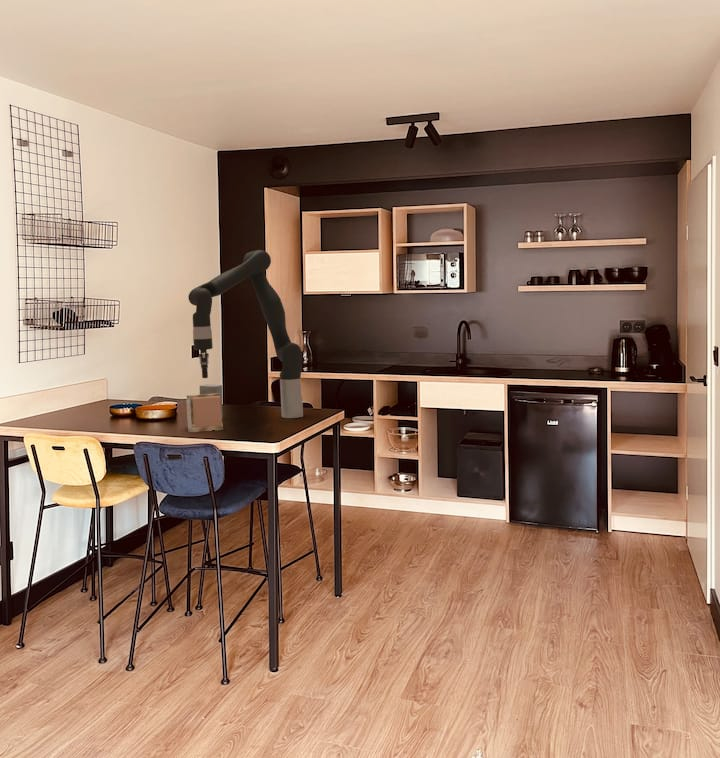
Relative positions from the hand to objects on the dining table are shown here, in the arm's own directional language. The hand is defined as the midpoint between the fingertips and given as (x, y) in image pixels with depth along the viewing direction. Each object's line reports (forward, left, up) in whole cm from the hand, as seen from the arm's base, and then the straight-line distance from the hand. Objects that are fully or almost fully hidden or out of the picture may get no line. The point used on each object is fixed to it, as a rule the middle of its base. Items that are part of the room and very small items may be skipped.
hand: (205, 376), depth 306 cm
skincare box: (-2, -22, -22) cm, 32 cm away
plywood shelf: (+1, -3, -22) cm, 22 cm away
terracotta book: (0, 0, -20) cm, 20 cm away
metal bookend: (+7, -2, -21) cm, 22 cm away
